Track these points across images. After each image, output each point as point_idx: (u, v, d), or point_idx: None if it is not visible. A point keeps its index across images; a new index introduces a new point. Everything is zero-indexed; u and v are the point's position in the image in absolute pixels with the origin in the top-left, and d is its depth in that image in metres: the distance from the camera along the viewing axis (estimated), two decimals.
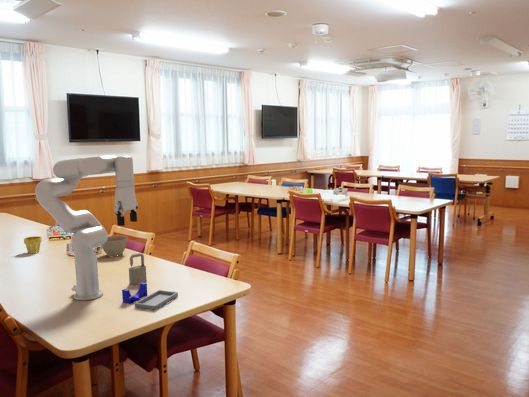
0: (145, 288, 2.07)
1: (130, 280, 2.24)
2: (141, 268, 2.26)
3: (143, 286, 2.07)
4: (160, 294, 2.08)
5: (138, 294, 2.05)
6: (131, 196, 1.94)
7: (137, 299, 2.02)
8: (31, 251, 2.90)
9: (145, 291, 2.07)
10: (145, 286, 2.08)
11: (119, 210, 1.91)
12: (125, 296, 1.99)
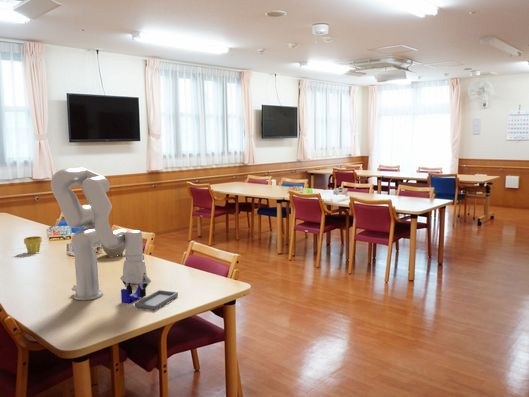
0: None
1: None
2: None
3: None
4: (160, 294, 2.08)
5: (137, 294, 2.06)
6: None
7: (136, 299, 2.02)
8: (31, 251, 2.90)
9: None
10: None
11: (142, 282, 2.01)
12: (124, 296, 1.99)
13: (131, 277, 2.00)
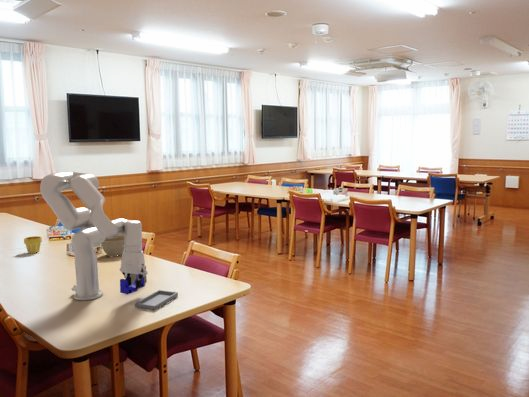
0: None
1: None
2: None
3: None
4: (160, 294, 2.08)
5: (135, 284, 2.05)
6: None
7: (135, 289, 2.01)
8: (31, 251, 2.90)
9: (142, 282, 2.07)
10: (143, 277, 2.07)
11: (139, 274, 2.01)
12: (123, 286, 1.98)
13: (129, 267, 2.00)
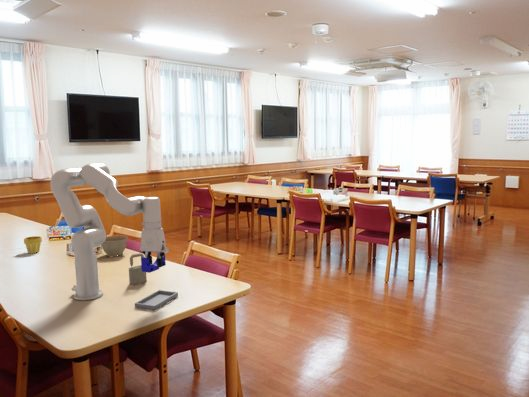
0: (163, 257, 2.02)
1: (130, 280, 2.24)
2: (141, 268, 2.26)
3: None
4: (160, 294, 2.08)
5: None
6: None
7: (156, 267, 1.96)
8: (31, 251, 2.90)
9: (163, 260, 2.02)
10: (164, 255, 2.02)
11: (159, 251, 1.96)
12: (144, 264, 1.93)
13: (149, 245, 1.94)
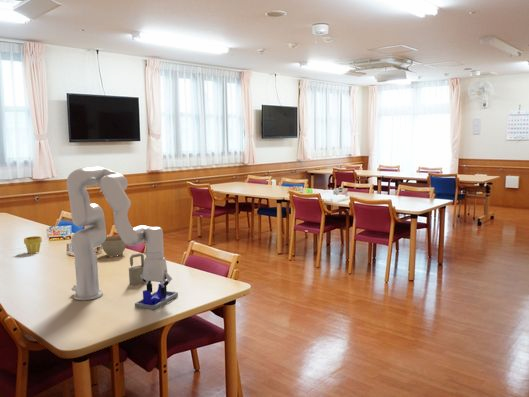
0: None
1: (130, 280, 2.24)
2: (141, 268, 2.26)
3: None
4: None
5: (158, 295, 2.01)
6: None
7: (158, 300, 1.98)
8: (31, 251, 2.90)
9: None
10: None
11: (163, 280, 1.97)
12: (146, 297, 1.94)
13: (152, 275, 1.96)
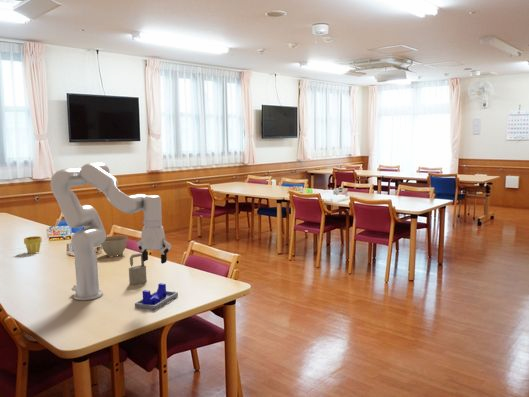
0: (164, 289, 2.04)
1: (130, 280, 2.24)
2: (141, 268, 2.26)
3: (162, 287, 2.03)
4: None
5: (157, 295, 2.01)
6: None
7: (157, 300, 1.98)
8: (31, 251, 2.90)
9: (164, 292, 2.04)
10: (164, 287, 2.04)
11: (162, 248, 1.95)
12: (146, 297, 1.95)
13: (150, 243, 1.94)
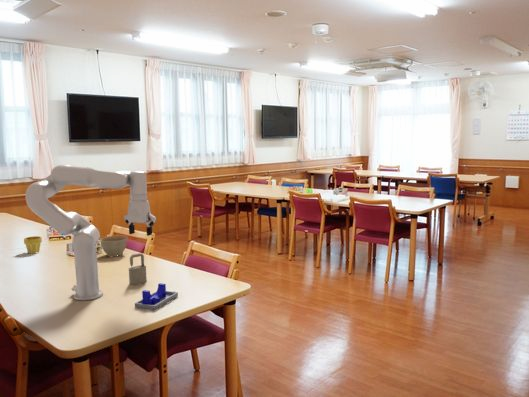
0: (164, 289, 2.04)
1: (130, 280, 2.24)
2: (141, 268, 2.26)
3: (162, 287, 2.03)
4: None
5: (157, 295, 2.02)
6: None
7: (157, 300, 1.98)
8: (31, 251, 2.90)
9: (164, 292, 2.04)
10: (164, 287, 2.04)
11: (147, 221, 2.05)
12: (145, 297, 1.95)
13: (136, 216, 2.05)
